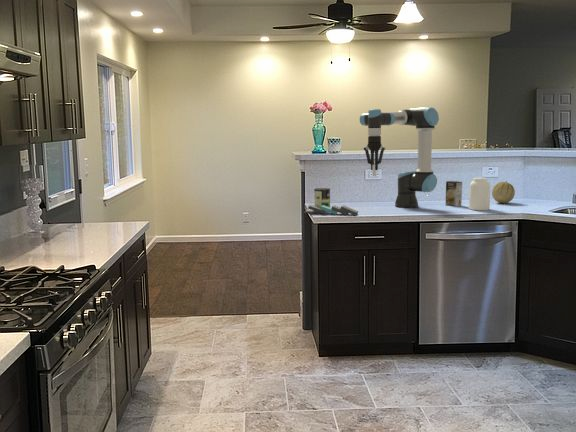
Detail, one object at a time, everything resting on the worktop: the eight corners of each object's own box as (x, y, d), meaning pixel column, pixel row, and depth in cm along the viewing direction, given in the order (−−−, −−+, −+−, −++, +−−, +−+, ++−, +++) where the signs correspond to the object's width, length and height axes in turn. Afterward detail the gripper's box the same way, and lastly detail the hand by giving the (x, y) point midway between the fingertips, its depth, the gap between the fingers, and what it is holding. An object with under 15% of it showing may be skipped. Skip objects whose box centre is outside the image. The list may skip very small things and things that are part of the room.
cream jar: (472, 207, 397) (473, 176, 394) (492, 208, 390) (493, 177, 387) (466, 209, 387) (467, 178, 384) (485, 211, 380) (486, 179, 377)
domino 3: (349, 211, 376) (334, 205, 380) (346, 212, 372) (332, 206, 375) (348, 214, 377) (333, 208, 380) (345, 215, 372) (331, 209, 376)
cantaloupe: (488, 203, 415) (489, 181, 413) (495, 201, 427) (495, 179, 425) (511, 204, 407) (512, 182, 405) (517, 202, 419) (517, 180, 417)
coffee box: (444, 205, 412) (445, 181, 410) (451, 204, 416) (451, 180, 413) (455, 206, 405) (456, 182, 402) (462, 205, 408) (462, 181, 406)
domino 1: (322, 210, 383) (307, 210, 387) (319, 211, 379) (304, 211, 383) (322, 213, 383) (307, 213, 388) (319, 214, 379) (304, 214, 383)
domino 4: (358, 211, 374) (343, 205, 377) (355, 212, 369) (341, 206, 373) (357, 214, 375) (342, 208, 378) (354, 215, 370) (340, 209, 373)
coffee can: (331, 209, 399) (331, 188, 397) (329, 211, 389) (329, 189, 387) (315, 209, 401) (315, 188, 399) (313, 211, 391) (313, 189, 389)
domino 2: (325, 209, 381) (310, 204, 383) (324, 210, 376) (308, 205, 378) (324, 212, 382) (309, 207, 383) (323, 213, 377) (307, 208, 379)
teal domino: (338, 210, 379) (323, 204, 381) (336, 211, 374) (321, 206, 376) (337, 213, 380) (322, 207, 381) (335, 214, 375) (320, 209, 377)
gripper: (387, 135, 361) (386, 175, 364) (366, 135, 367) (366, 174, 370) (383, 135, 354) (383, 176, 358) (361, 135, 360) (361, 175, 363)
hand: (374, 175), depth 364 cm, fingers closed
